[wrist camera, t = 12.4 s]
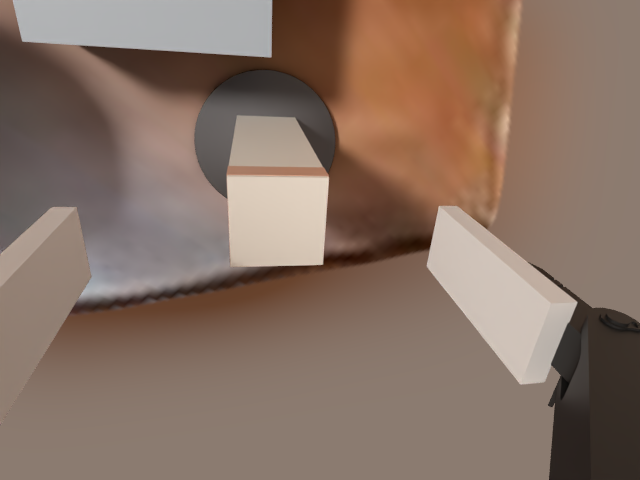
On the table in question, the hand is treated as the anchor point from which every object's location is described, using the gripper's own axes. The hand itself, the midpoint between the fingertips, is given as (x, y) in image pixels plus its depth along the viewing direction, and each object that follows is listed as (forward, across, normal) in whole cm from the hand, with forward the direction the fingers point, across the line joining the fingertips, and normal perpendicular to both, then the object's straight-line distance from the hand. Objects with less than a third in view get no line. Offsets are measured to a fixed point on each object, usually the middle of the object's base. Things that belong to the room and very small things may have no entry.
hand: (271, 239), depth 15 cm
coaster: (+16, +1, 0) cm, 16 cm away
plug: (+16, +1, 0) cm, 16 cm away
